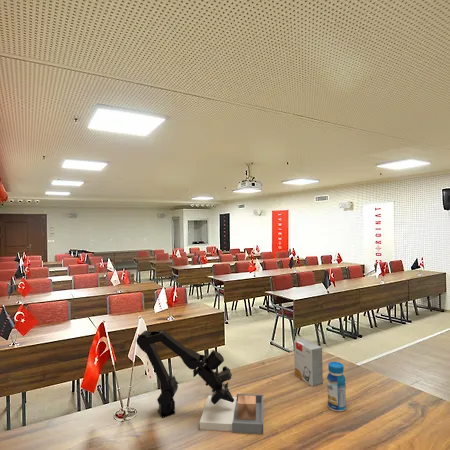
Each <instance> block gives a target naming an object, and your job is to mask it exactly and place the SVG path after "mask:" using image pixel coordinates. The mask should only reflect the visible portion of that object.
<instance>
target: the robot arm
mask: <svg viewBox="0 0 450 450" xmlns="http://www.w3.org/2000/svg"><path fill="white" fill-rule="evenodd" d="M135 342H136V344H137V346H138V347H139V348H140V351H143V352H144V354H146V356H147V359H148V361H149V362H150V364H151V366H152V368H153V371H154V372H155V375H156V376H157V378H158V380H159V389H160V394H159V396H158V398H157V399H156V401H157V404H158V409H157V412H158V414H159V415H160V417H161V418H166V417H169V416H171V415H175V414H176V411H175V410H176V404H175V403H176V402H175V399H174V397H175V395H176V393H177V392H178V389H179V385H178V384H179V382H178V381H177V379H176V376H175V375H172V376H171V375H170V374H169V373H168V370H167V368H166V367H165V364H164V362H163V361H162V359H161V356H160V354H159V352H158V350H157V348H156V344H157V343H161V344H163V345H164V346H166V348H168V349H169V350H170V351H172V352H173V353H174V354H176V355H177V356H178V357H179V358H181V360H182V362H183V364H184V365H185V366H186V367H187V368H188V369H189V370H191V371H192V370H193V371H192V372H193V373H192V374H193V375H192V376H193V378H195V377H196V376H199V377H200V378H201V379H202V381H203V382H204V383H205V384H204V385H205V386H206V387H207V386H209V388H210V389H211V393H212V397H211V402H212V403H213V404H216V403H217V402H218V401H219V400H220V399H223V400H227V401H230V402H234V399H233V397H232V396H233V395H232V393H231V391H230V390H229V382H226V381H230V380H231V379H232V376H233V375H232V374H233V373H232V372H231V368H229V367H228V366H226V365H225V366H223V367H222V370H221V371H220V372H218V371H214V370H217V369H218V367H220V365H221V364H223V363H224V361H225V358H224V356H223V354H222V353H220V352H218V351H215V350H214V349H213V350H212V351H211V352H210V353H209V354H208V355H206V354H200V353H199V352H197V351H195V350H193V349H189V348H187V347H185V346H184V344H182V343H180V342H179V341H178V340H176V339H175V338H174V337H173V336H171V335H170V334H169V333H168V332H167V331H165V330H160V331H158V330H151V331H150V330H148V329H147V330H144V331H143V332H141V333H140V334H139V335H138V336H137V338H136V341H135ZM225 382H226V383H225Z"/></svg>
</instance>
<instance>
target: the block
mask: <svg viewBox="0 0 450 450" xmlns="http://www.w3.org/2000/svg"><path fill="white" fill-rule="evenodd" d="M237 407H238V419H244V420H256V396H250V395H238V403H237Z"/></svg>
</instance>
